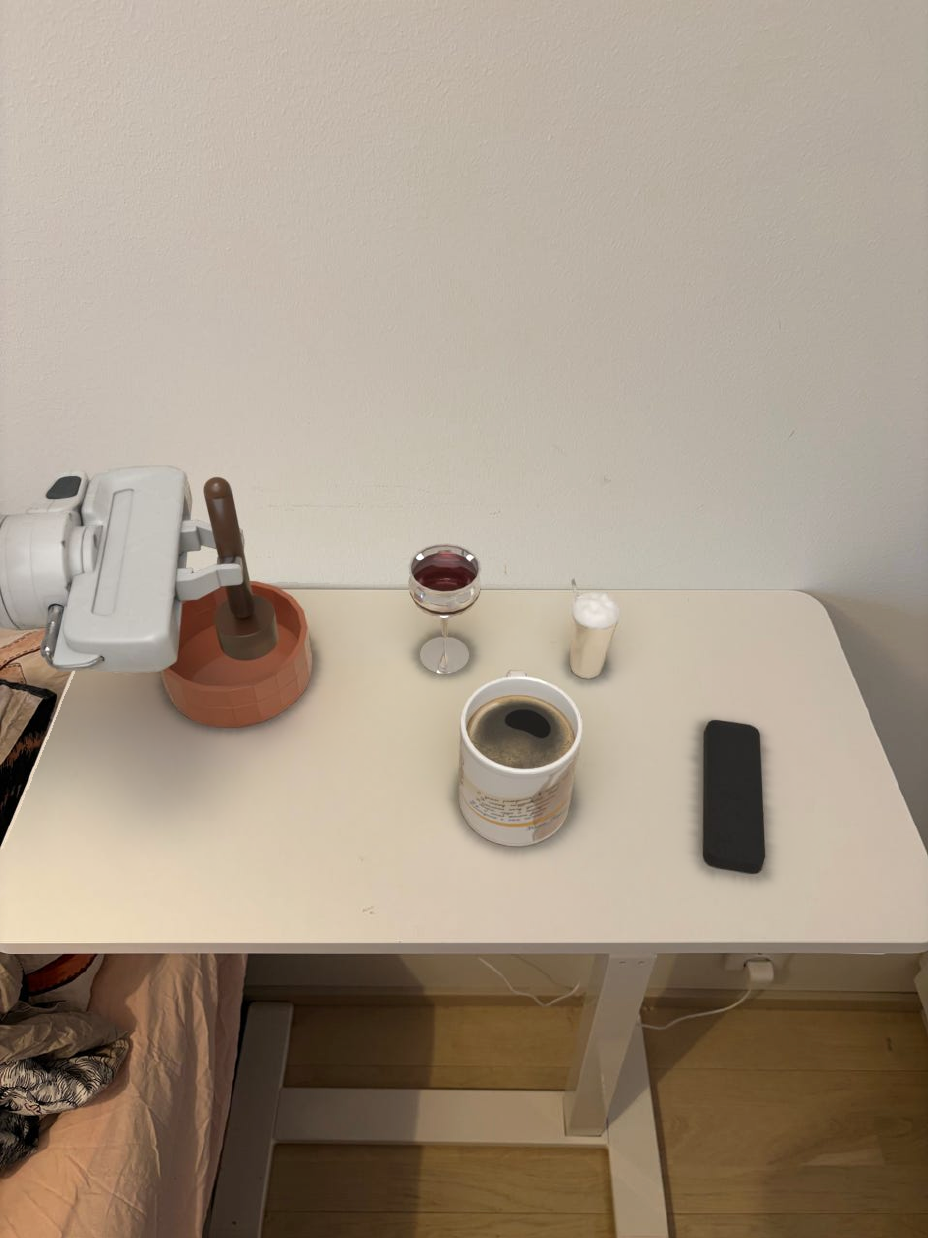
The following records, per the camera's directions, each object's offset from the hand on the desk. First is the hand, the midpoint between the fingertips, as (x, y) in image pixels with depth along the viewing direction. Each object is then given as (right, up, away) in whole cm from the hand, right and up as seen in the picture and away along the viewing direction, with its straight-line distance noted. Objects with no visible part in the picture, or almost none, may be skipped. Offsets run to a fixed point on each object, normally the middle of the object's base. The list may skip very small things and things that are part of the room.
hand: (243, 554), depth 73 cm
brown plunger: (-1, -7, +7) cm, 10 cm away
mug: (+22, -20, +10) cm, 32 cm away
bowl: (-5, -10, +19) cm, 22 cm away
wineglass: (+15, -9, +21) cm, 28 cm away
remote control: (+41, -21, +10) cm, 47 cm away
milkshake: (+29, -10, +21) cm, 37 cm away
